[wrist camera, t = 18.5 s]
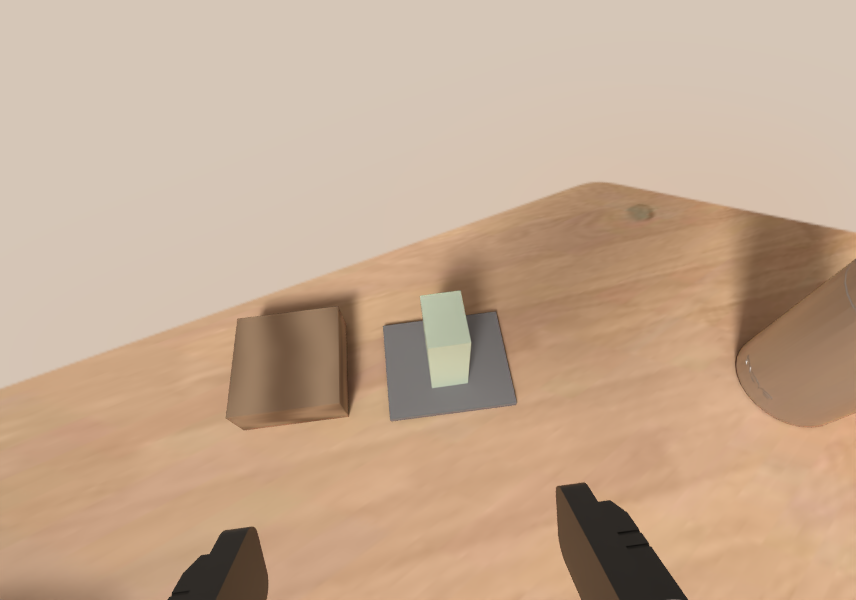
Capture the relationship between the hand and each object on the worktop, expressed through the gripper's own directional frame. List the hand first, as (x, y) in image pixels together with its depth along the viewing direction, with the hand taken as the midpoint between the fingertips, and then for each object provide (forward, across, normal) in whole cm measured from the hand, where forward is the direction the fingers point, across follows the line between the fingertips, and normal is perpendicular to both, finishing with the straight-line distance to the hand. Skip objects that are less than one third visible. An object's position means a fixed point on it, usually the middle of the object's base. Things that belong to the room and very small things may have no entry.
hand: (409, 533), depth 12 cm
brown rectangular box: (+33, +12, +8) cm, 36 cm away
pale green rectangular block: (+32, -3, +8) cm, 33 cm away
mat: (+32, -3, +8) cm, 33 cm away
